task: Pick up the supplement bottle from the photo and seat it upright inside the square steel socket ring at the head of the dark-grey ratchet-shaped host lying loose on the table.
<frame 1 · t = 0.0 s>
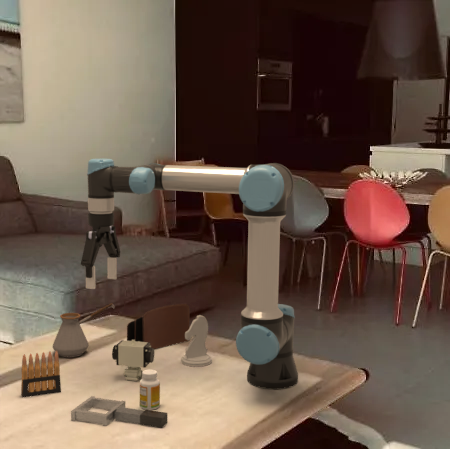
hand: (101, 283, 222), 28 cm above the table, tool pointing down, fingers open, 13 cm apart
letter holder: (158, 344, 258), on the table
coffee pot: (84, 351, 248), on the table
pneumatic valve: (133, 379, 223), on the table
supplement bottle: (149, 407, 202), on the table
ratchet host: (98, 415, 196), on the table
ammunition clip: (41, 394, 210), on the table
chess piece: (196, 362, 239), on the table
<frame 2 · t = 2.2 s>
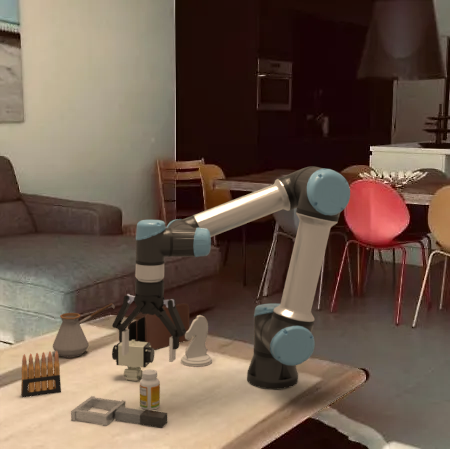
hand: (148, 357, 200), 14 cm above the table, tool pointing down, fingers open, 13 cm apart
nothing on the table moved.
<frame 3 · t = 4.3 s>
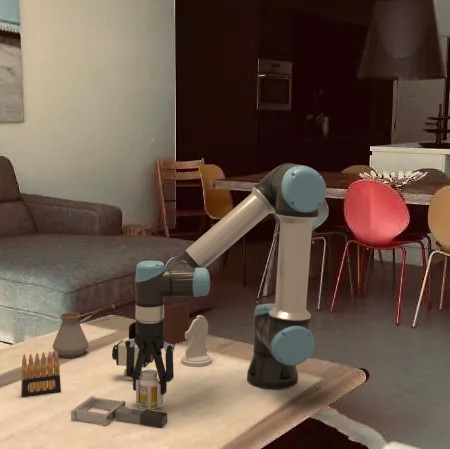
hand: (149, 403, 202), 1 cm above the table, tool pointing down, fingers closed on supplement bottle, 5 cm apart
supplement bottle: (149, 407, 202), on the table, touching gripper
everything else where it was.
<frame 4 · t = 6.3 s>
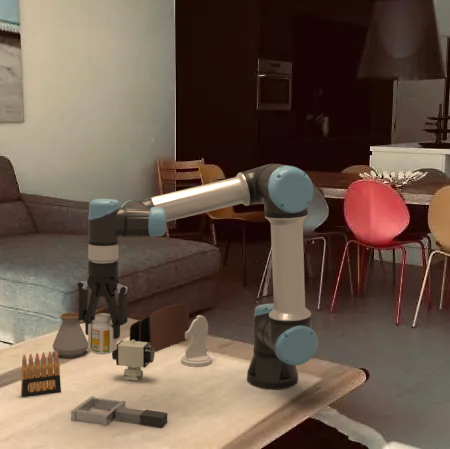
hand: (102, 348, 194), 18 cm above the table, tool pointing down, fingers closed on supplement bottle, 5 cm apart
supplement bottle: (102, 352, 194), point 17 cm above the table, touching gripper
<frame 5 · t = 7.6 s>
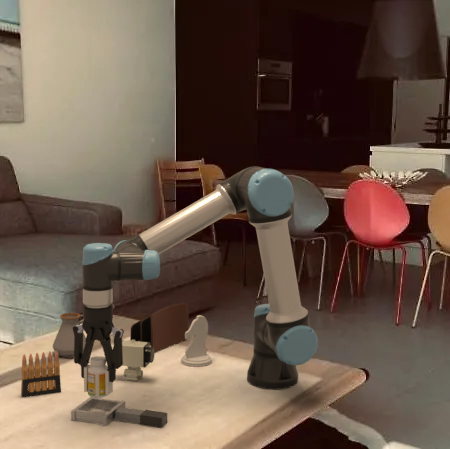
hand: (98, 391, 195), 6 cm above the table, tool pointing down, fingers closed on supplement bottle, 5 cm apart
supplement bottle: (98, 395, 195), point 5 cm above the table, touching gripper
when the fingers open (3 cm above the table, at t = 8.5 s): supplement bottle drops 2 cm, resting in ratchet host.
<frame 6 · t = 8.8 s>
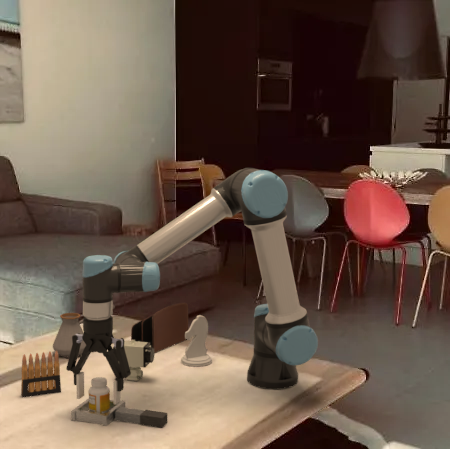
hand: (98, 399, 195), 4 cm above the table, tool pointing down, fingers open, 10 cm apart
supplement bottle: (99, 416, 196), resting in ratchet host
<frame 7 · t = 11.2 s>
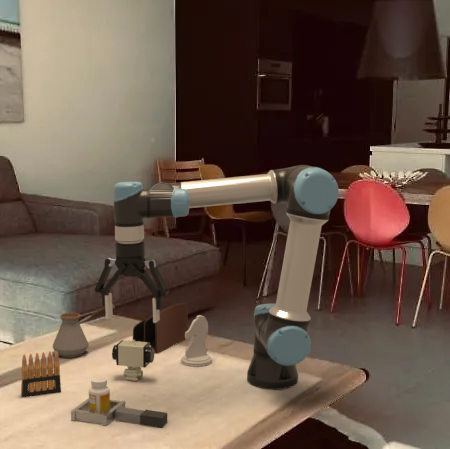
hand: (132, 319, 200), 23 cm above the table, tool pointing down, fingers open, 13 cm apart
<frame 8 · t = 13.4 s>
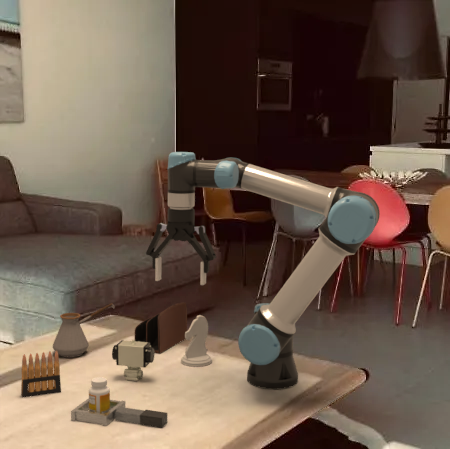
hand: (180, 282, 213), 31 cm above the table, tool pointing down, fingers open, 13 cm apart
at the end: supplement bottle 0.2 cm off-centre on the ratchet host, point 0.0 cm above the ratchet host's base; supplement bottle tilted 0°; the gripper is holding nothing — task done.
